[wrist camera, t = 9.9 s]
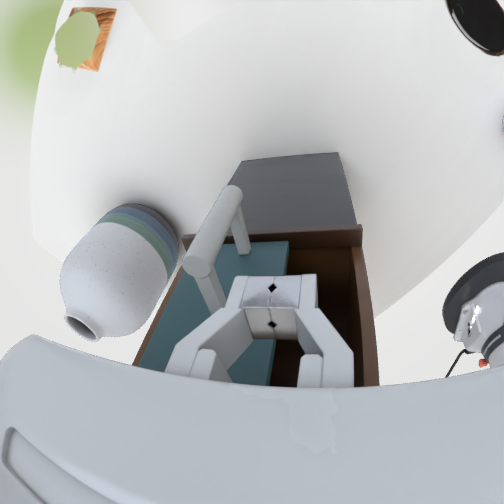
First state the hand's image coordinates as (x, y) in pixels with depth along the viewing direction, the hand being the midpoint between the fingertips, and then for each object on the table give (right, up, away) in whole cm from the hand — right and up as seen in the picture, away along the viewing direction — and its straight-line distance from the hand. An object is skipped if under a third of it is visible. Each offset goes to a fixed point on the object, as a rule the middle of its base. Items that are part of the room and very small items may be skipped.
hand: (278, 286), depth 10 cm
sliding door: (-2, +4, +9) cm, 10 cm away
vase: (-21, +5, +42) cm, 47 cm away
